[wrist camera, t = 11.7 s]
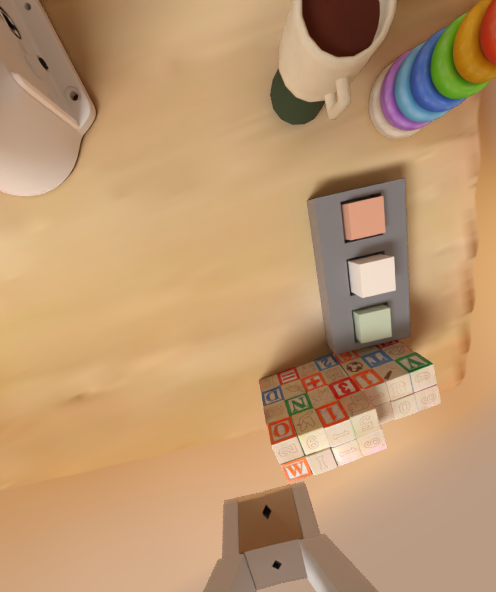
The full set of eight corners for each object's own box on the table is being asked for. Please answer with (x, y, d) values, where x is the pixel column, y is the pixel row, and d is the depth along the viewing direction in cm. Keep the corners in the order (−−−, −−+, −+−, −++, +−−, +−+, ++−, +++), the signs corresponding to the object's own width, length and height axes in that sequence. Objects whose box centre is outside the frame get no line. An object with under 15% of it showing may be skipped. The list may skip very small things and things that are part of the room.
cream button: (347, 261, 32) (359, 264, 30) (379, 253, 32) (394, 256, 30) (351, 291, 34) (362, 298, 31) (381, 284, 34) (395, 290, 31)
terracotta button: (337, 205, 32) (348, 203, 29) (369, 198, 32) (383, 195, 29) (340, 238, 33) (351, 240, 30) (371, 231, 33) (385, 232, 30)
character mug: (334, 139, 31) (407, 79, 18) (278, 156, 31) (312, 108, 18) (316, 31, 28) (388, -130, 15) (254, 49, 28) (275, -95, 15)
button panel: (306, 200, 32) (314, 198, 29) (389, 182, 33) (405, 177, 30) (327, 344, 38) (335, 354, 35) (396, 328, 38) (410, 336, 36)
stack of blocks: (387, 331, 39) (457, 378, 27) (395, 364, 40) (464, 422, 29) (257, 380, 39) (270, 446, 27) (270, 410, 41) (288, 486, 29)
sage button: (348, 307, 36) (359, 315, 33) (377, 301, 36) (390, 307, 33) (351, 334, 37) (361, 343, 34) (379, 327, 37) (391, 336, 34)
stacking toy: (374, 152, 31) (571, 55, 13) (357, 81, 29) (564, -149, 11) (434, 125, 31) (717, -11, 13) (421, 51, 29) (740, -234, 11)
